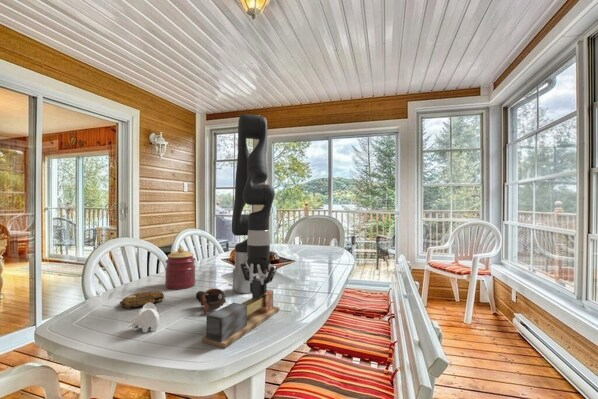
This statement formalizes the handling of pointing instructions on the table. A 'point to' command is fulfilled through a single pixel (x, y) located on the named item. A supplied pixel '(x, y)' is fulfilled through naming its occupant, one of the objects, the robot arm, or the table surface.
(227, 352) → the table surface
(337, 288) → the table surface
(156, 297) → the decorative rock
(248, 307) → the olive bar with post
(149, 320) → the elephant figurine
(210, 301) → the pottery mug
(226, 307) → the block assembly on base
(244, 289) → the robot arm
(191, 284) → the canister
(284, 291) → the table surface
